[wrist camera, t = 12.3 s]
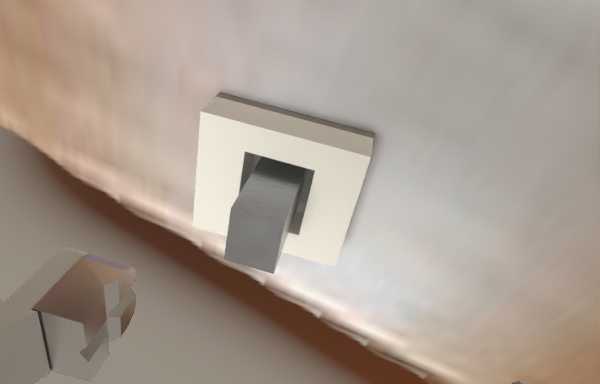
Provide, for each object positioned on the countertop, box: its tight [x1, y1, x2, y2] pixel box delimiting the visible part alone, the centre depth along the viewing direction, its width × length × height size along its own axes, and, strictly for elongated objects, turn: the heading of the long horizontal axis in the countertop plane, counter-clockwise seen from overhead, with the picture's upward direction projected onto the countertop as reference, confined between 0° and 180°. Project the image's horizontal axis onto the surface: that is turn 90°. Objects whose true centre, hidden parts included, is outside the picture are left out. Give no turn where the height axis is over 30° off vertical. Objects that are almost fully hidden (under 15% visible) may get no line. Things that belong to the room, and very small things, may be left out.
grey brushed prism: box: [224, 156, 307, 274], centre depth 36 cm, size 4×5×10 cm
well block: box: [193, 93, 374, 267], centre depth 40 cm, size 14×12×4 cm
